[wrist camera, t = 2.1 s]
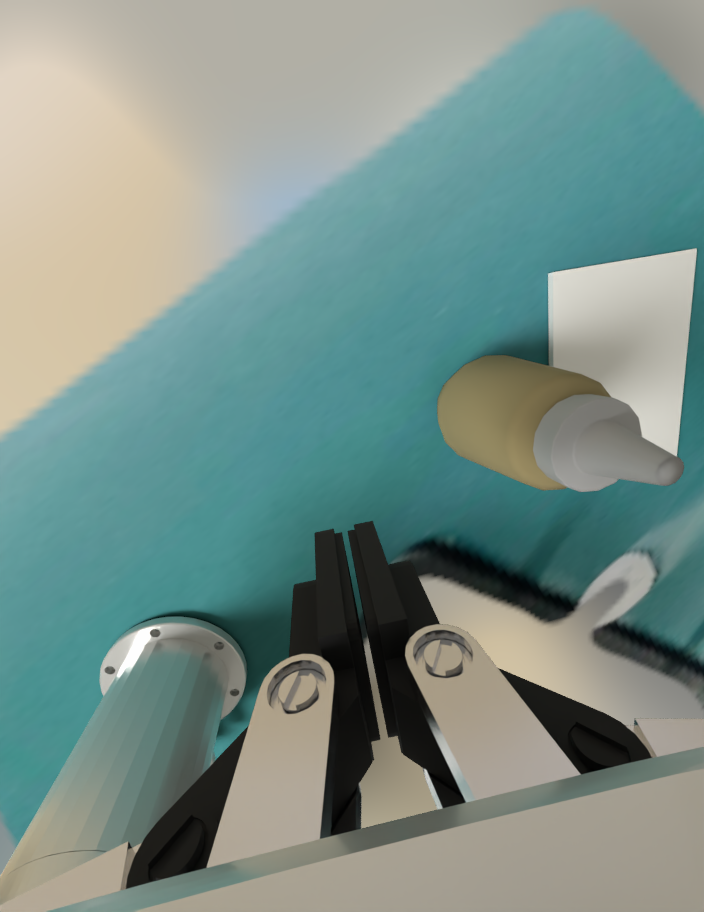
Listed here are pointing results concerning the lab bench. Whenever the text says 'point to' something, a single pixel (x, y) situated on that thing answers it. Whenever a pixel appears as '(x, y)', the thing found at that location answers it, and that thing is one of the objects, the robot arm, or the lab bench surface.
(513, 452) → the squeeze bottle
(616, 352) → the mat
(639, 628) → the lab bench surface
